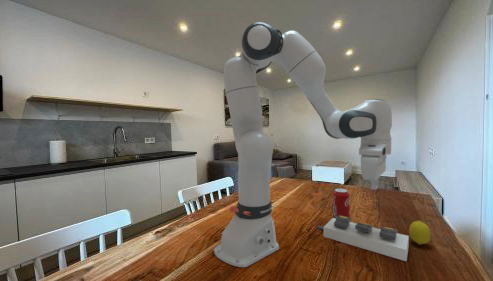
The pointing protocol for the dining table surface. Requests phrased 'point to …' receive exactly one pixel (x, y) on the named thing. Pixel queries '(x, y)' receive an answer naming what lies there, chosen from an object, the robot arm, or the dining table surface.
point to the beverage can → (341, 203)
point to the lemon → (419, 232)
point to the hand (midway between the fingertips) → (374, 188)
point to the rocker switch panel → (368, 240)
